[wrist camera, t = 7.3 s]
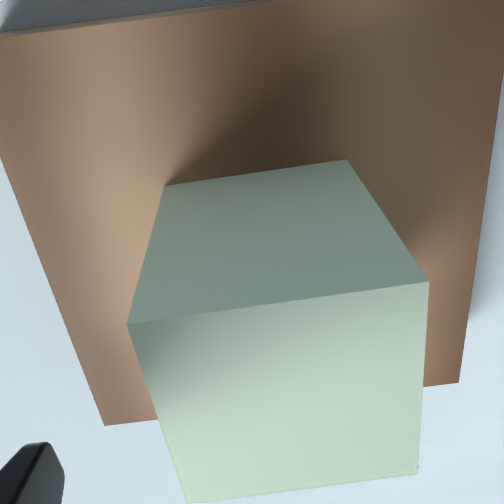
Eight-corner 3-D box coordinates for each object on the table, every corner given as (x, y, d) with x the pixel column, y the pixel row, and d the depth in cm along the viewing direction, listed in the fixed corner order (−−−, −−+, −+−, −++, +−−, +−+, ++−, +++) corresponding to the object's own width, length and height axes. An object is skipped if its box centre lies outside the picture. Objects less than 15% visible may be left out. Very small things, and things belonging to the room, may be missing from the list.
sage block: (198, 328, 16) (187, 504, 10) (164, 185, 13) (126, 324, 8) (351, 306, 16) (417, 474, 10) (346, 159, 13) (429, 282, 8)
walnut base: (119, 367, 20) (104, 425, 18) (6, 30, 14) (-45, 43, 11) (428, 330, 20) (458, 382, 18) (460, -28, 14) (517, -29, 11)
